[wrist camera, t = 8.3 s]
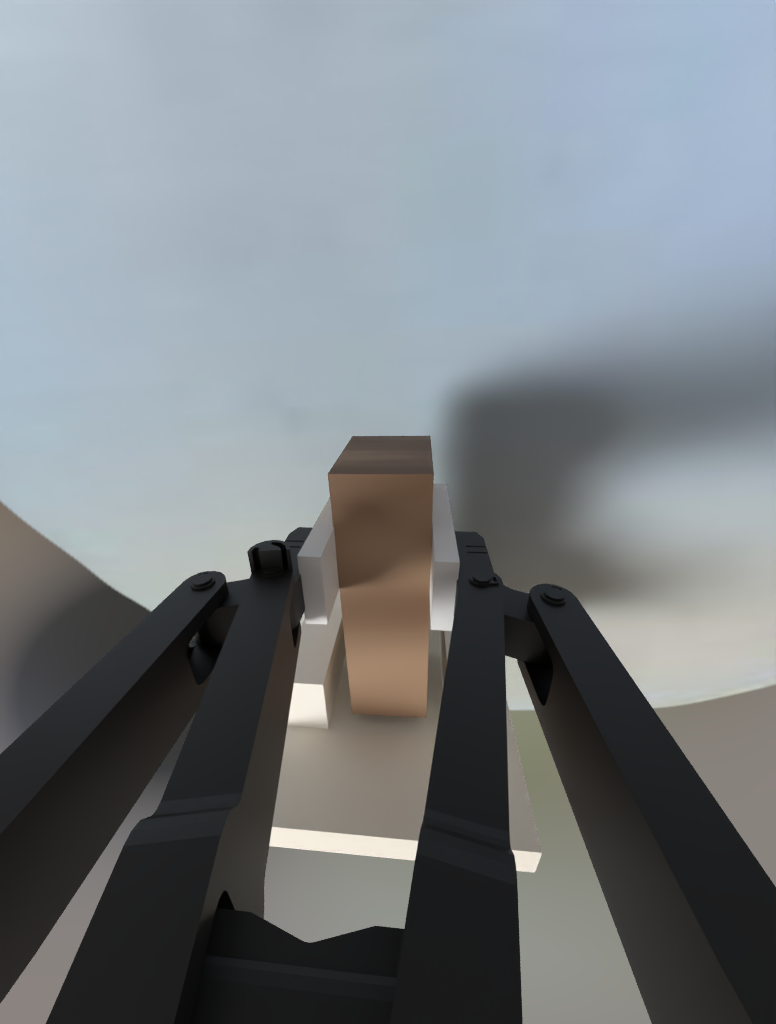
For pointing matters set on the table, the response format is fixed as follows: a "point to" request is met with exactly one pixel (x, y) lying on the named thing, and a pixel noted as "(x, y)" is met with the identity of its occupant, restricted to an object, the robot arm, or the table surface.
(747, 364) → the table surface
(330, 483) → the brown rectangular block
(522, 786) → the white twin-rail base
